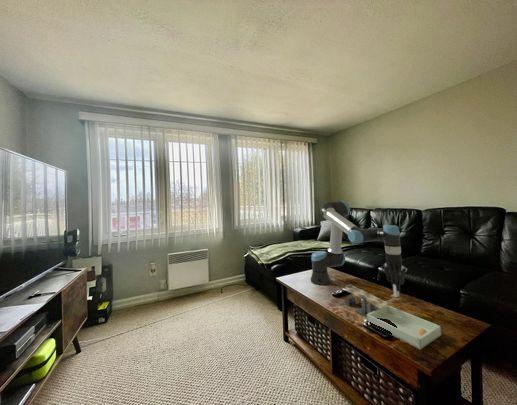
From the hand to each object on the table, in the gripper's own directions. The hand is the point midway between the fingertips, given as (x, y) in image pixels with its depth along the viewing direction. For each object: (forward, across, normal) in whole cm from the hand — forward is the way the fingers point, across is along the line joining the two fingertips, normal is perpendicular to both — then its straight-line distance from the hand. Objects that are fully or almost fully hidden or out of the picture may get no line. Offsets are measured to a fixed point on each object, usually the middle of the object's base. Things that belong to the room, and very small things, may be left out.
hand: (396, 296), depth 114 cm
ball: (+7, +18, -13) cm, 24 cm away
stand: (+9, -12, -13) cm, 20 cm away
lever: (+1, -10, -7) cm, 12 cm away
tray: (+9, +9, -14) cm, 19 cm away
